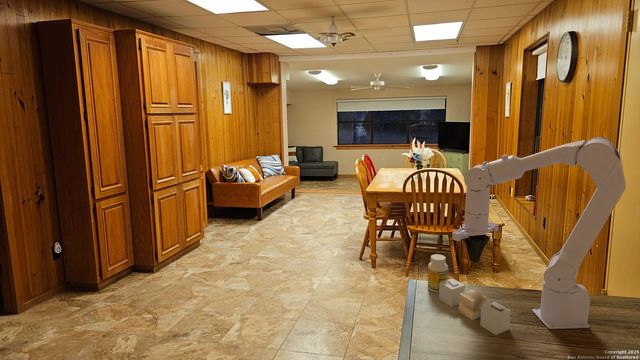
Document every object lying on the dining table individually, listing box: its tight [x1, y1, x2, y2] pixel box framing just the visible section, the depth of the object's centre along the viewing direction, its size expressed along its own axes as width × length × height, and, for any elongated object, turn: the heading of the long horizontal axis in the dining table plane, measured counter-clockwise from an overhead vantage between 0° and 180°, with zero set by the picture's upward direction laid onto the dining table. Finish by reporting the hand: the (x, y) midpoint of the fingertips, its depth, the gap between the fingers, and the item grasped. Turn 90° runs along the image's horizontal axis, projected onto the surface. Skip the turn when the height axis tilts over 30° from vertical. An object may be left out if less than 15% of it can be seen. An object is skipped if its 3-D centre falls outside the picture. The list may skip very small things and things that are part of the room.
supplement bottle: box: [427, 253, 449, 294], centre depth 114 cm, size 5×5×10 cm
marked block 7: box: [438, 277, 466, 307], centre depth 108 cm, size 4×4×5 cm
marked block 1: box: [479, 301, 512, 336], centre depth 96 cm, size 4×4×5 cm
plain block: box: [457, 289, 487, 321], centre depth 102 cm, size 4×4×5 cm
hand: (474, 260), depth 108 cm, fingers closed
